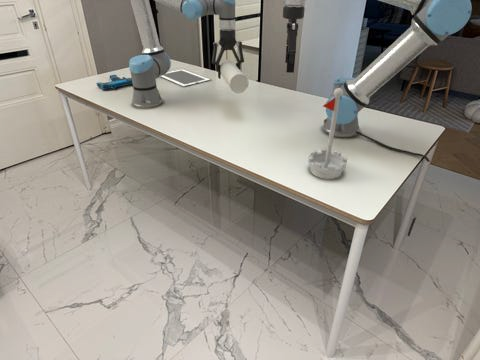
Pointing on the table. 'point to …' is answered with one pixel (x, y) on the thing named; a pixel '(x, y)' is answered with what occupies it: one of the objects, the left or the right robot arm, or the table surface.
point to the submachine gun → (115, 82)
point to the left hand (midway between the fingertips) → (228, 77)
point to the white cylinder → (233, 76)
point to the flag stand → (329, 148)
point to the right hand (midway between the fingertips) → (289, 67)
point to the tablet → (184, 77)
